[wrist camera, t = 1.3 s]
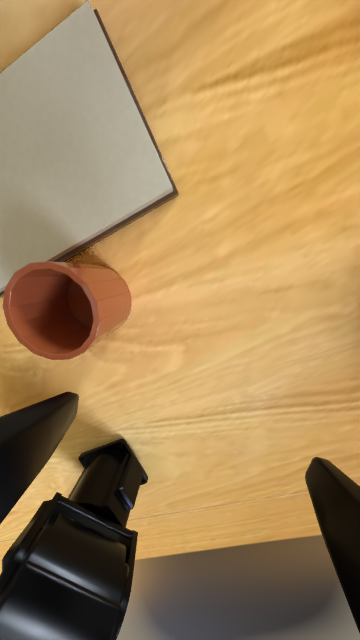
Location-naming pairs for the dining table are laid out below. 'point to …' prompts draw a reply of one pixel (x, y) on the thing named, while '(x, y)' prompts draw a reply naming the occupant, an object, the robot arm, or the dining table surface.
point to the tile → (72, 148)
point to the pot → (64, 307)
